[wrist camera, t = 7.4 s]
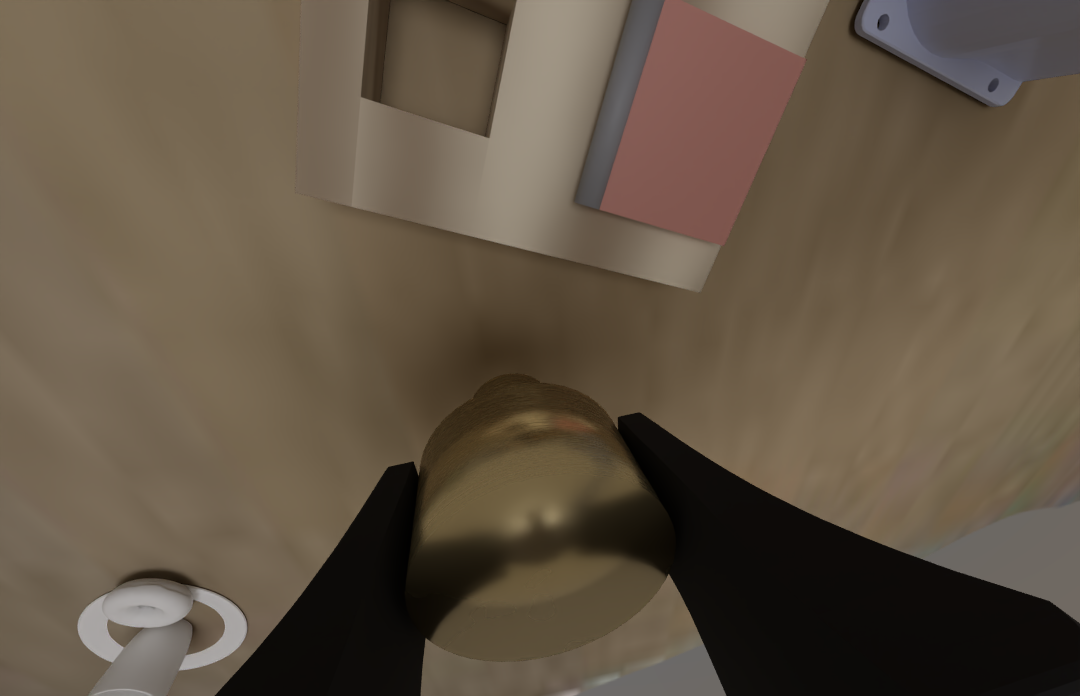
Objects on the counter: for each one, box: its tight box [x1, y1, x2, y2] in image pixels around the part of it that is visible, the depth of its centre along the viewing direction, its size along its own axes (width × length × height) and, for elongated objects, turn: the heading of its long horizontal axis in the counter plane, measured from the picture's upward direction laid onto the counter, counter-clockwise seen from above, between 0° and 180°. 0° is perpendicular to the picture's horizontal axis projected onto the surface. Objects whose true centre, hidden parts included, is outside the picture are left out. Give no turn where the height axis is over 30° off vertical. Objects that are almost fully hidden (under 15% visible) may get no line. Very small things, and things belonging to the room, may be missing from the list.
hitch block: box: [295, 0, 829, 293], centre depth 14 cm, size 15×10×3 cm, turn 75°
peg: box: [405, 374, 676, 662], centre depth 10 cm, size 5×5×6 cm
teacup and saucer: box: [78, 578, 247, 696], centre depth 21 cm, size 9×8×4 cm
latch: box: [574, 0, 807, 246], centre depth 13 cm, size 6×6×1 cm
